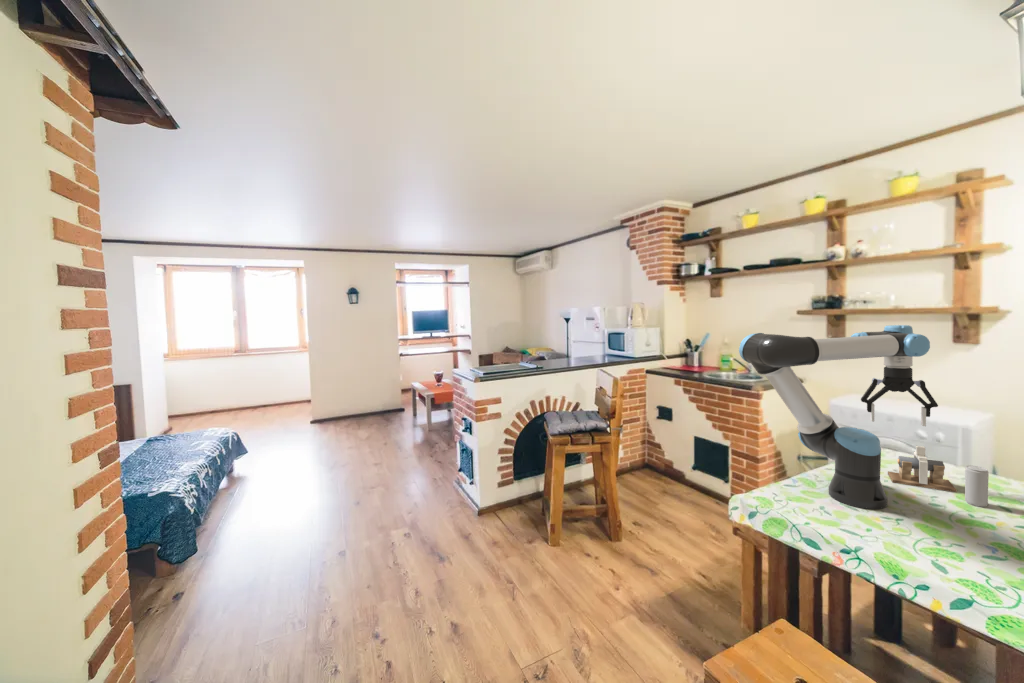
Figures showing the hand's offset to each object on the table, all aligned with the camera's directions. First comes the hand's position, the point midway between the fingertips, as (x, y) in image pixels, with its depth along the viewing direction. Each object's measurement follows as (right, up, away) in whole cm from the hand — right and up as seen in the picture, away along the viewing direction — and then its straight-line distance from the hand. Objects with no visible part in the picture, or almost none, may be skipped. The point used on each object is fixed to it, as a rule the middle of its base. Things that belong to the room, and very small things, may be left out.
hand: (897, 423), depth 144 cm
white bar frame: (+6, -20, -2) cm, 21 cm away
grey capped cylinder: (+6, -17, -2) cm, 18 cm away
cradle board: (+6, -22, -2) cm, 23 cm away
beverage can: (+7, -23, -18) cm, 30 cm away
